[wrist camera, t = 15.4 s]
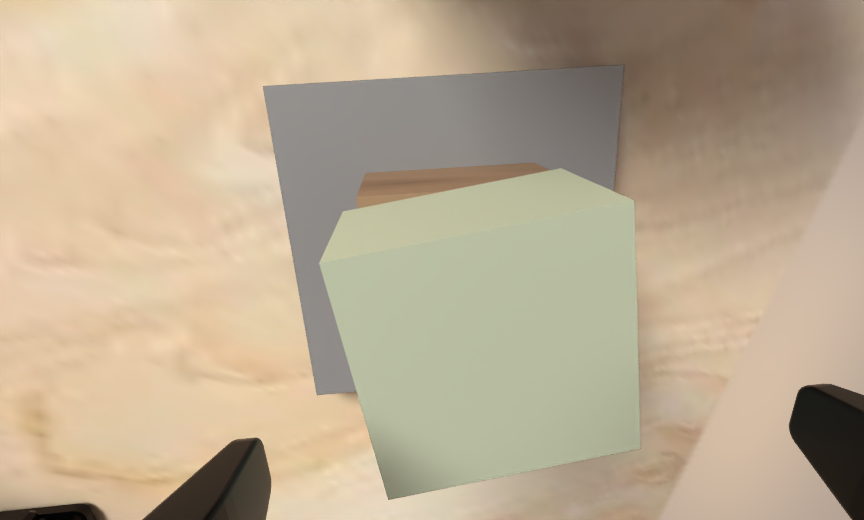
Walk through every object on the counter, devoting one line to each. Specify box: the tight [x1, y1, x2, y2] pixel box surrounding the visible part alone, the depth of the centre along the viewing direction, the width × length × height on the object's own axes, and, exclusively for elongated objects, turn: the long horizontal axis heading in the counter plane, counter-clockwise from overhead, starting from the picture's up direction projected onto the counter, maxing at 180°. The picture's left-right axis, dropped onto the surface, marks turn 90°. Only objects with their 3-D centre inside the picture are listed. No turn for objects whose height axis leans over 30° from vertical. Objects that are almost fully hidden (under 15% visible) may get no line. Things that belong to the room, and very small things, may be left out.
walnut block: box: [356, 163, 549, 209], centre depth 15 cm, size 6×6×4 cm
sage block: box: [319, 168, 641, 500], centre depth 11 cm, size 6×6×4 cm
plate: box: [263, 65, 624, 395], centre depth 18 cm, size 12×12×2 cm
